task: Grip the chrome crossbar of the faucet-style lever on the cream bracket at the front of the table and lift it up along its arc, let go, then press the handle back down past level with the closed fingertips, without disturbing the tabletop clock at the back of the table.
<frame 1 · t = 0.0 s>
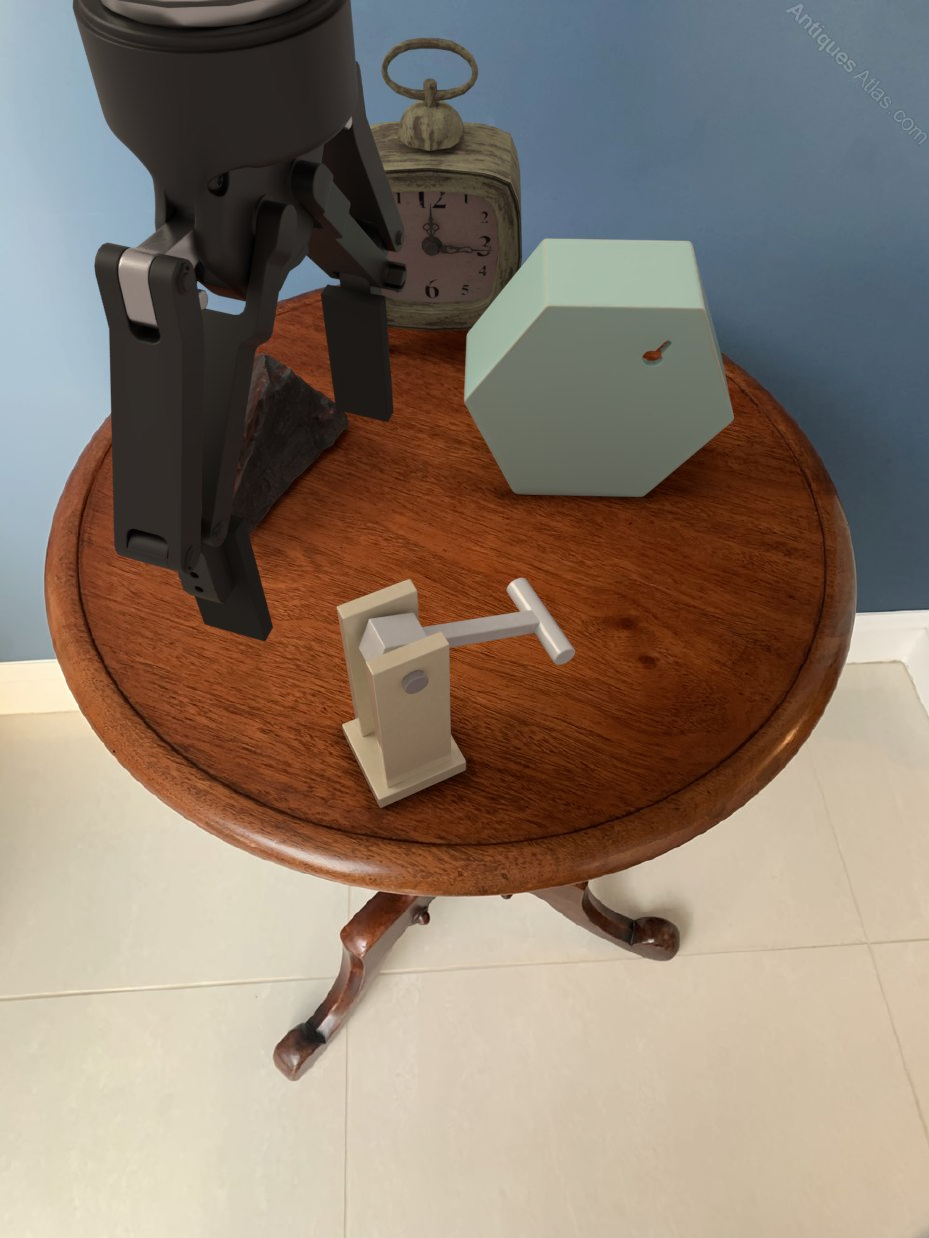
hand: (307, 509, 43), 24 cm above the table, tool pointing down, fingers open, 13 cm apart
faucet bracket: (404, 751, 63), on the table
planter: (584, 463, 79), on the table
tabletop clock: (436, 333, 89), on the table
rock: (284, 485, 77), on the table
faucet handle: (465, 632, 56), point 10 cm above the table, hinge at -20.0°
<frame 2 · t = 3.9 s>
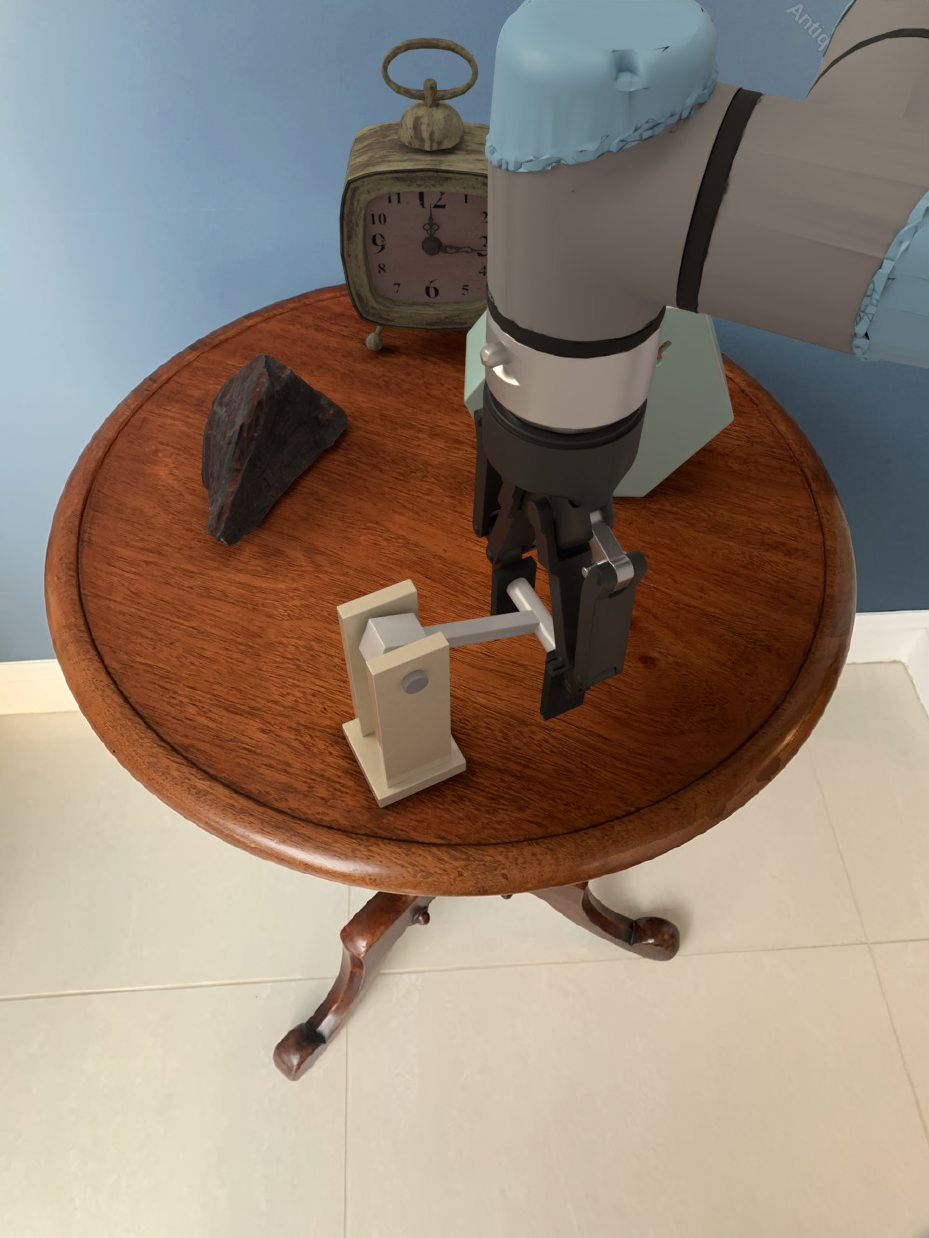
hand: (535, 667, 63), 3 cm above the table, tool pointing down, fingers closed on faucet handle, 6 cm apart
faucet handle: (465, 632, 56), point 10 cm above the table, hinge at -20.0°, touching gripper
everything else where it was.
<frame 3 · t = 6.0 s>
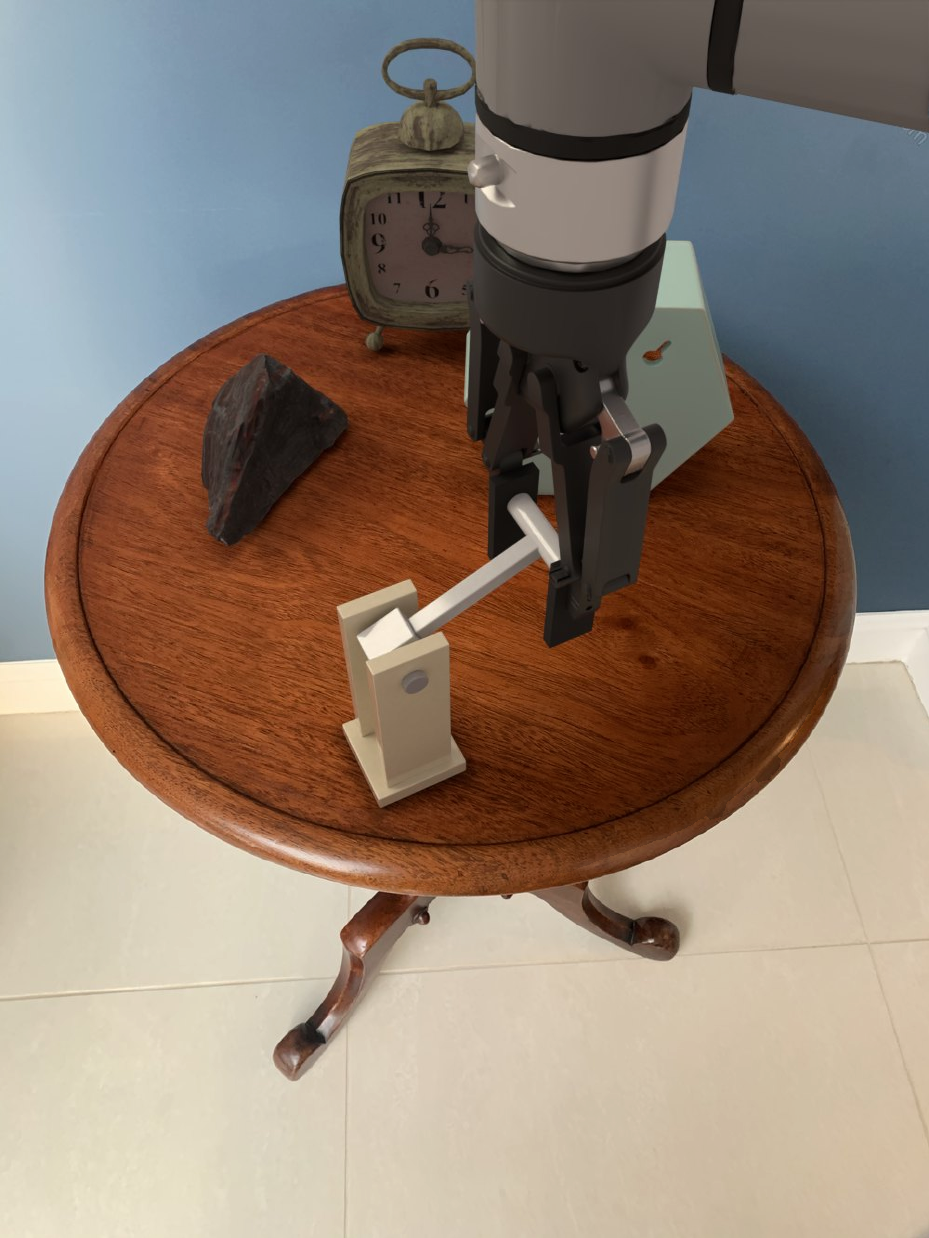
hand: (538, 591, 56), 12 cm above the table, tool pointing down, fingers closed on faucet handle, 6 cm apart
faucet handle: (463, 595, 53), point 14 cm above the table, hinge at 24.3°, touching gripper
everything else where it was.
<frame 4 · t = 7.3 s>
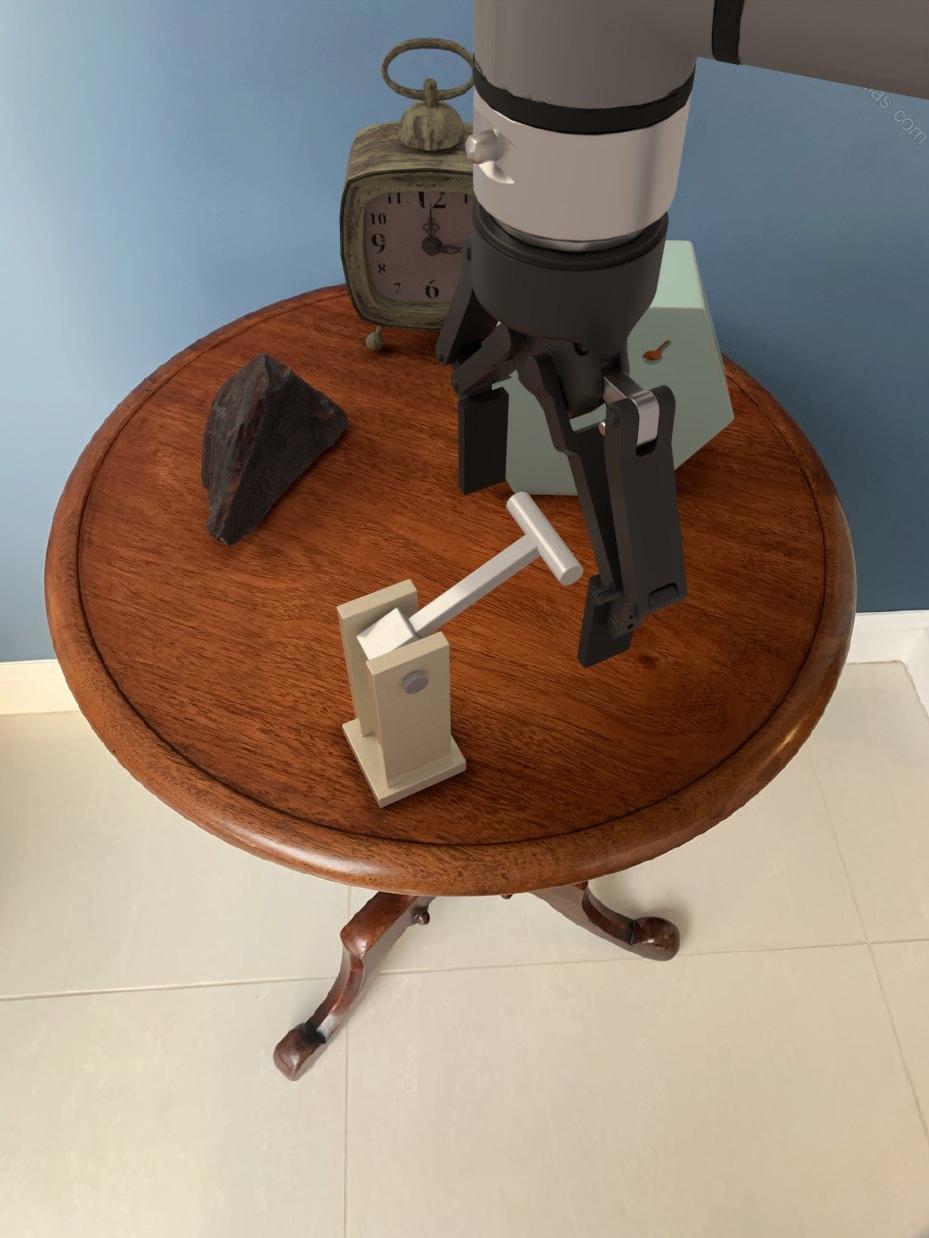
hand: (538, 563, 54), 14 cm above the table, tool pointing down, fingers open, 13 cm apart
faucet handle: (463, 595, 53), point 14 cm above the table, hinge at 25.1°
everything else where it was.
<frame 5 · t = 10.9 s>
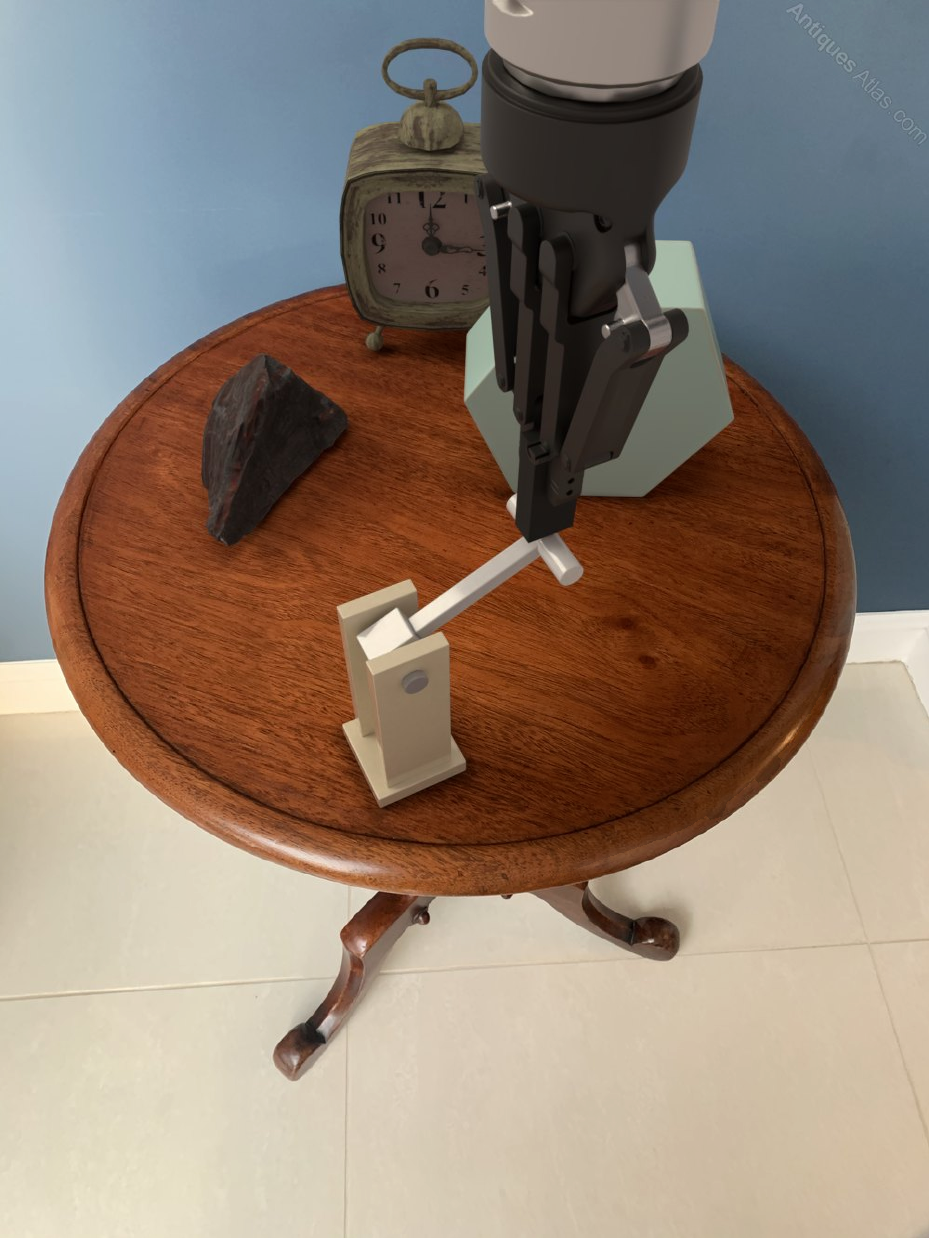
hand: (543, 525, 52), 17 cm above the table, tool pointing down, fingers closed
faucet handle: (463, 595, 53), point 14 cm above the table, hinge at 25.0°, touching gripper
everything else where it was.
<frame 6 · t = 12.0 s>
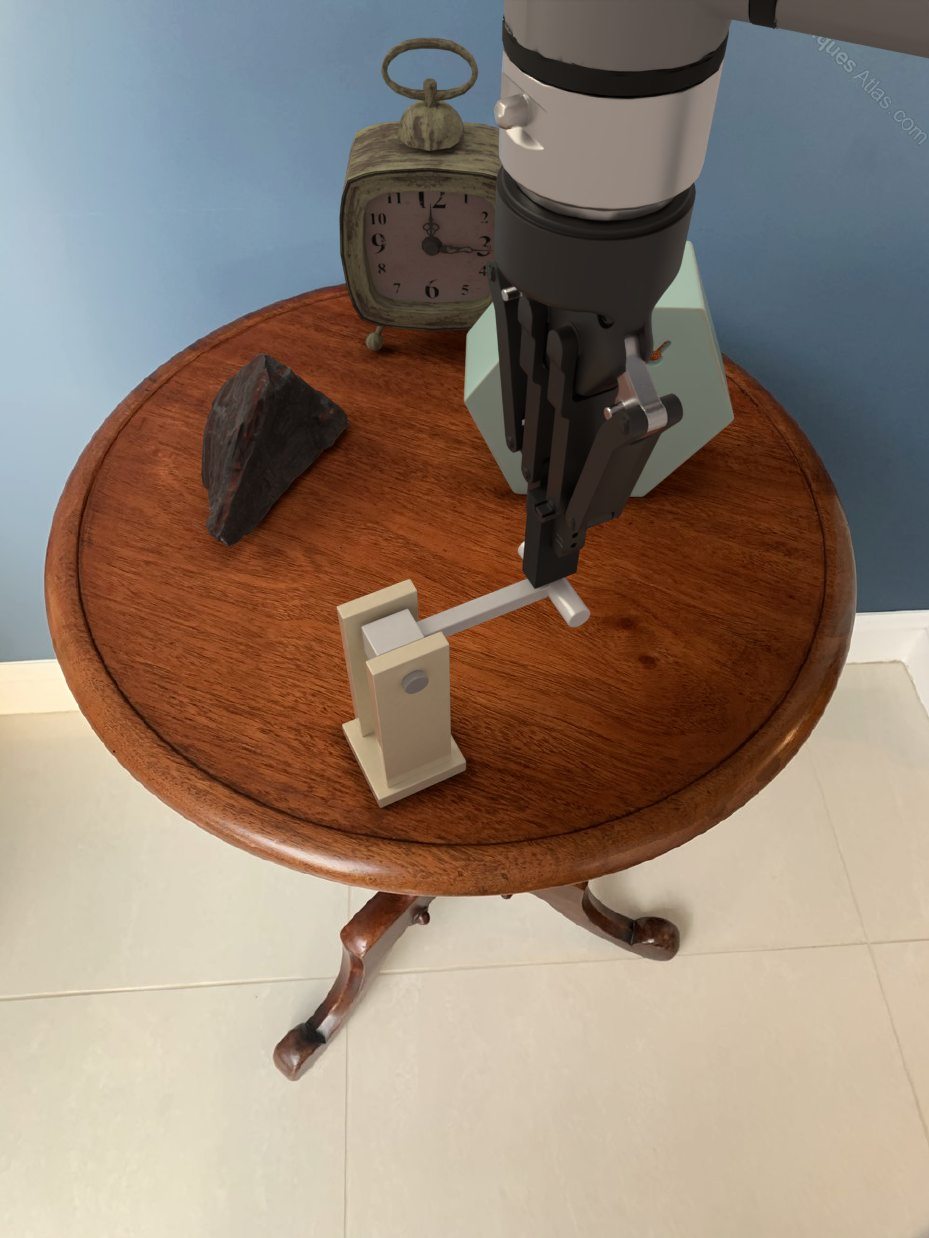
hand: (549, 571, 55), 13 cm above the table, tool pointing down, fingers closed
faucet handle: (470, 614, 55), point 12 cm above the table, hinge at -0.3°, touching gripper
everything else where it was.
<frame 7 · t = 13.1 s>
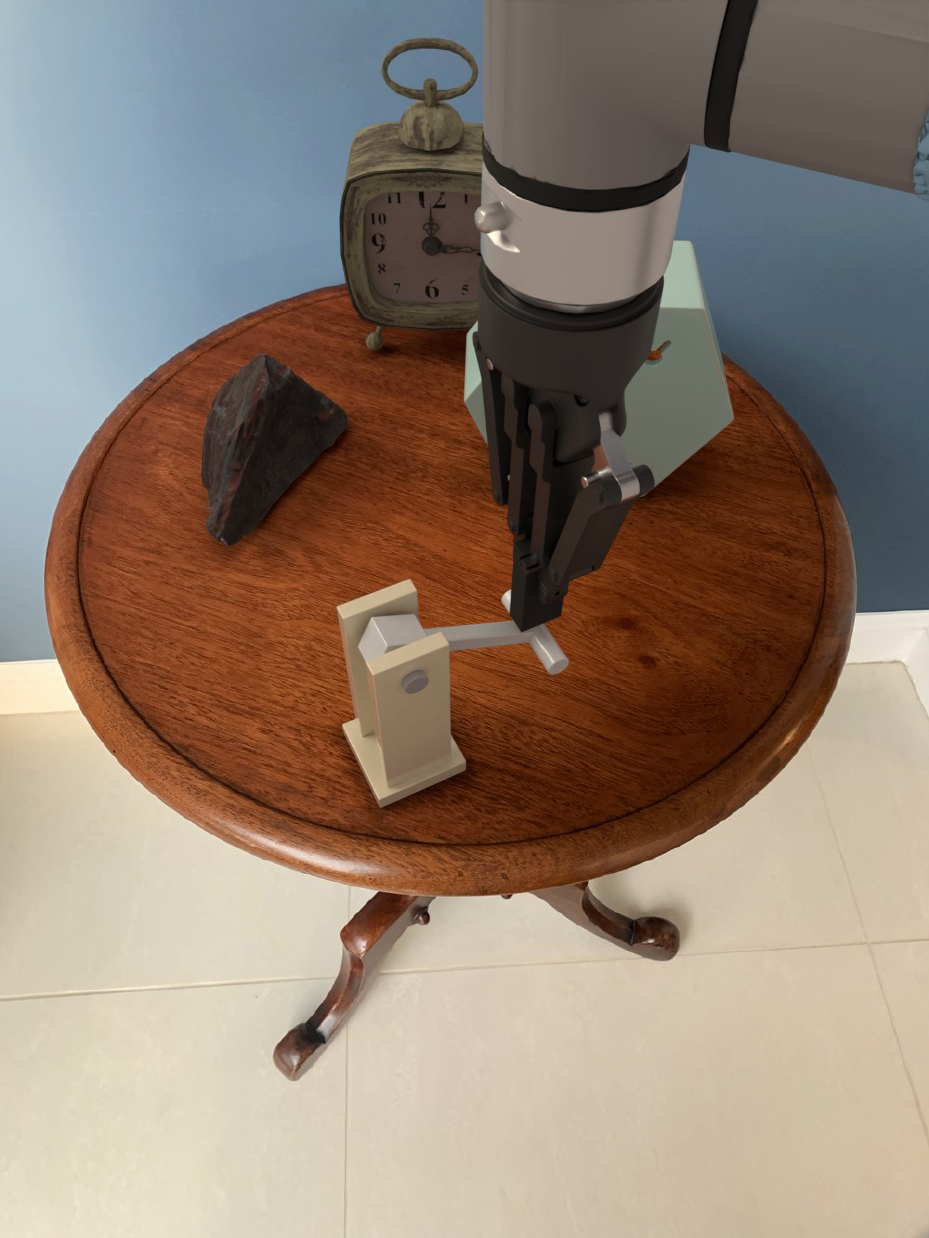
hand: (535, 615, 58), 9 cm above the table, tool pointing down, fingers closed
faucet handle: (463, 637, 56), point 10 cm above the table, hinge at -25.1°, touching gripper
everything else where it was.
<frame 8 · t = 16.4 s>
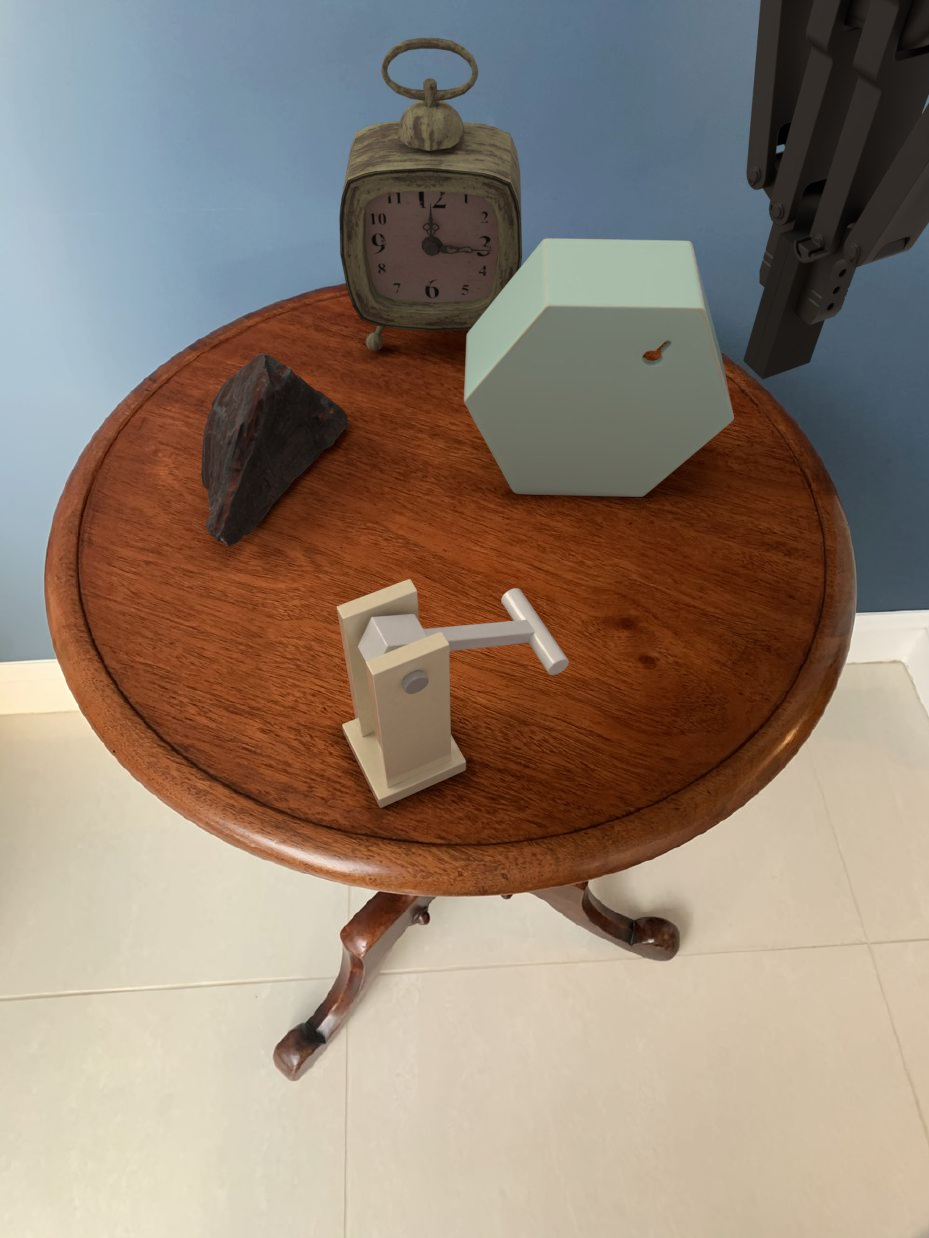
hand: (776, 361, 45), 26 cm above the table, tool pointing down, fingers closed
faucet handle: (462, 637, 56), point 10 cm above the table, hinge at -25.2°
everything else where it was.
at the end: faucet handle reached +25° during the clip, -25° at the end; faucet handle at -25° (first picture: -20°); tabletop clock moved 0.2 cm from its start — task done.
